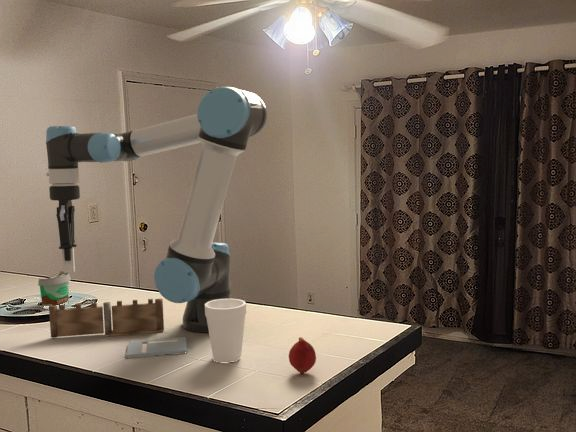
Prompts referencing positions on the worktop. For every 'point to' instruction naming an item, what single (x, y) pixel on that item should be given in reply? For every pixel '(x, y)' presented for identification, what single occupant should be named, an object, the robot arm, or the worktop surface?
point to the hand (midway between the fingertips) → (69, 271)
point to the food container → (54, 289)
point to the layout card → (156, 347)
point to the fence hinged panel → (76, 320)
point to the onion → (302, 356)
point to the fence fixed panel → (134, 318)
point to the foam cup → (226, 328)
